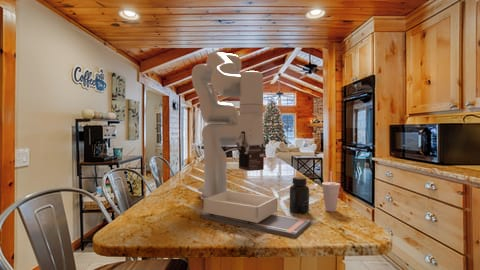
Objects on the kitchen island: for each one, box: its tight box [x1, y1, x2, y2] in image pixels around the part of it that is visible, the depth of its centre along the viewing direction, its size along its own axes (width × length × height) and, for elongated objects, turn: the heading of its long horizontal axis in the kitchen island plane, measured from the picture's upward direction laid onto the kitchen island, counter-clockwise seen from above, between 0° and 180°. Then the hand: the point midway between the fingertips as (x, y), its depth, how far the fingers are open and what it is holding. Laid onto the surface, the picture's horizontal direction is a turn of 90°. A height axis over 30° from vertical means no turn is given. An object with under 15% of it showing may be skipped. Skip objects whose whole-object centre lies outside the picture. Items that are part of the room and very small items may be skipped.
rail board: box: [199, 212, 312, 239], centre depth 90 cm, size 33×14×1 cm, turn 58°
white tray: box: [202, 190, 278, 223], centre depth 93 cm, size 20×14×5 cm
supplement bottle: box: [289, 176, 310, 215], centre depth 100 cm, size 7×7×12 cm
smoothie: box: [321, 171, 341, 212], centre depth 102 cm, size 6×6×14 cm
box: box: [238, 146, 265, 172], centre depth 90 cm, size 6×6×7 cm
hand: (251, 165), depth 90 cm, fingers closed on box, 8 cm apart
